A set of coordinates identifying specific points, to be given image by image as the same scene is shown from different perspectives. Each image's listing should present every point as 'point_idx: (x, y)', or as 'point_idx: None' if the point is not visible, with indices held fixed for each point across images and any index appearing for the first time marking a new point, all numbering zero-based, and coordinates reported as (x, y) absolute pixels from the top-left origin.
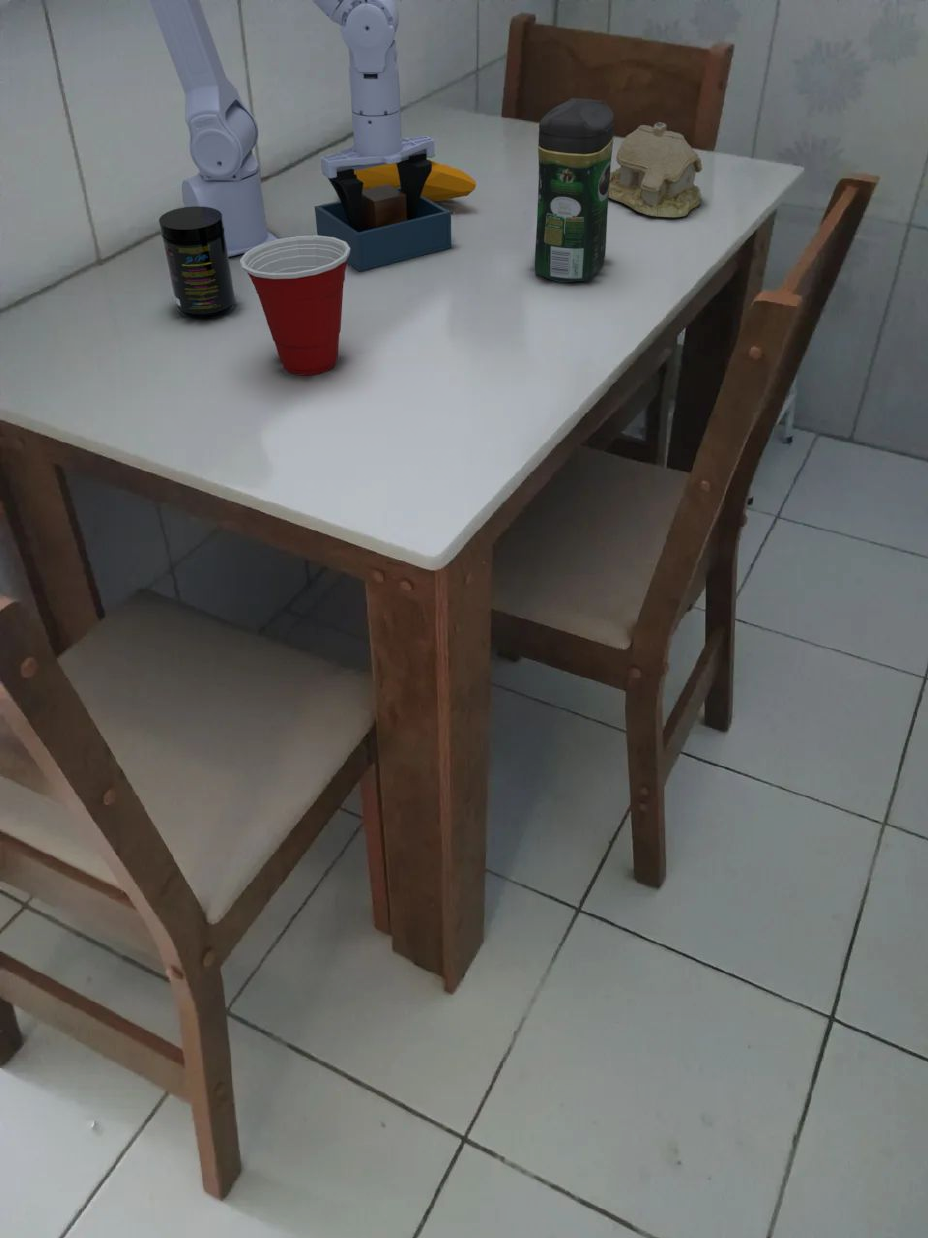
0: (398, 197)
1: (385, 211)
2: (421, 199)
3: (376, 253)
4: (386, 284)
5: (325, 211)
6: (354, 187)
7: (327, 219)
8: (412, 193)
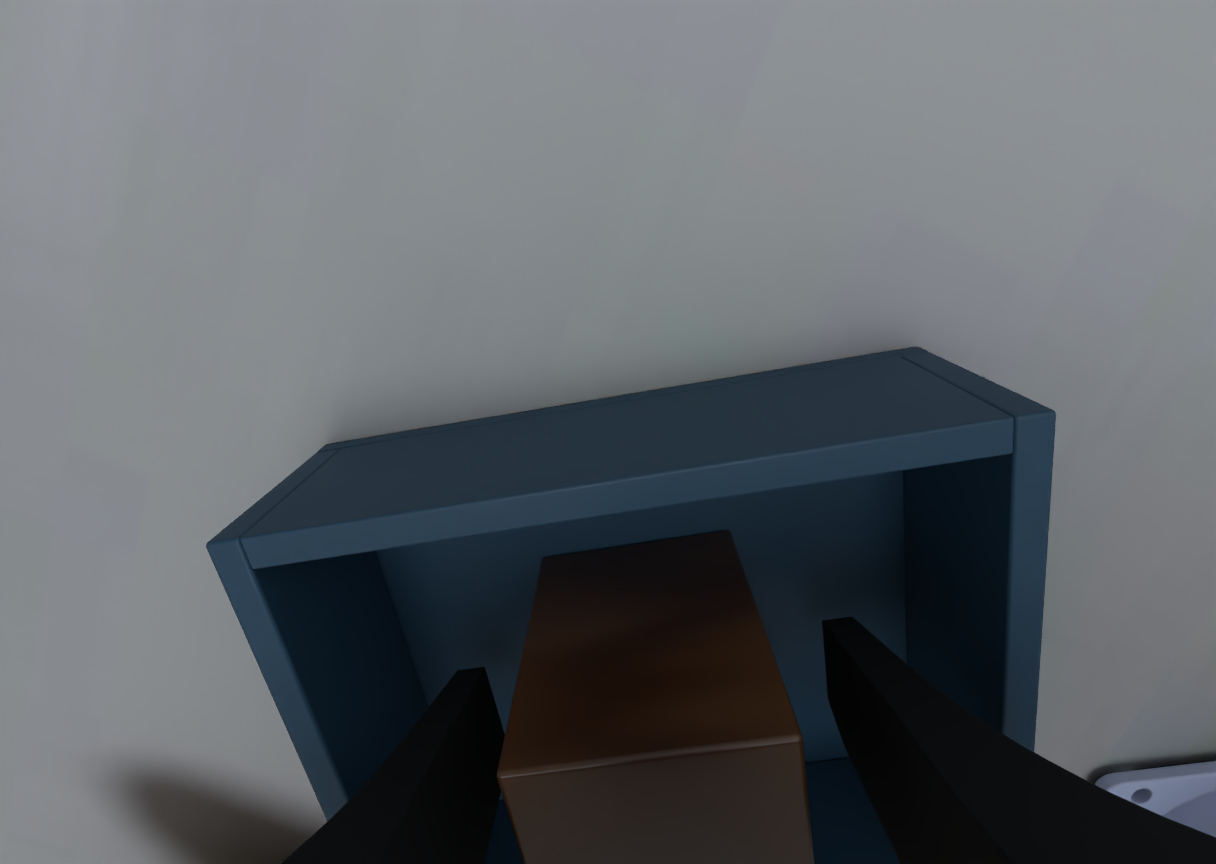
0: (570, 754)
1: (689, 676)
2: None
3: (823, 387)
4: (860, 95)
5: None
6: (1146, 859)
7: None
8: (424, 805)
